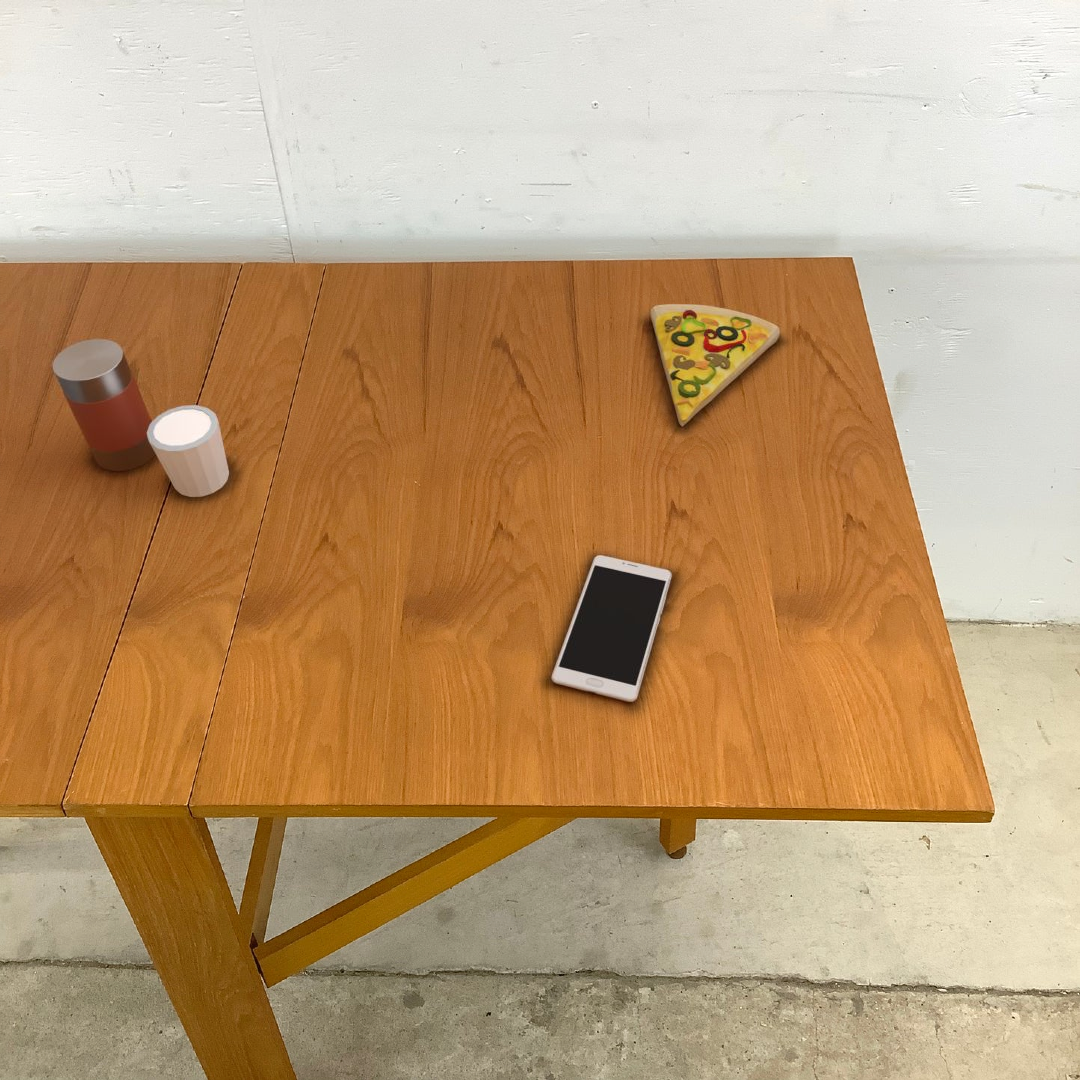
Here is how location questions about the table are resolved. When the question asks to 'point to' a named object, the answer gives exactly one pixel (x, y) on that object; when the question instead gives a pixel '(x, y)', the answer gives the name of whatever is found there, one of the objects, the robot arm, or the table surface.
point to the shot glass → (190, 449)
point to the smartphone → (613, 628)
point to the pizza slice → (706, 350)
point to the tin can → (105, 403)
